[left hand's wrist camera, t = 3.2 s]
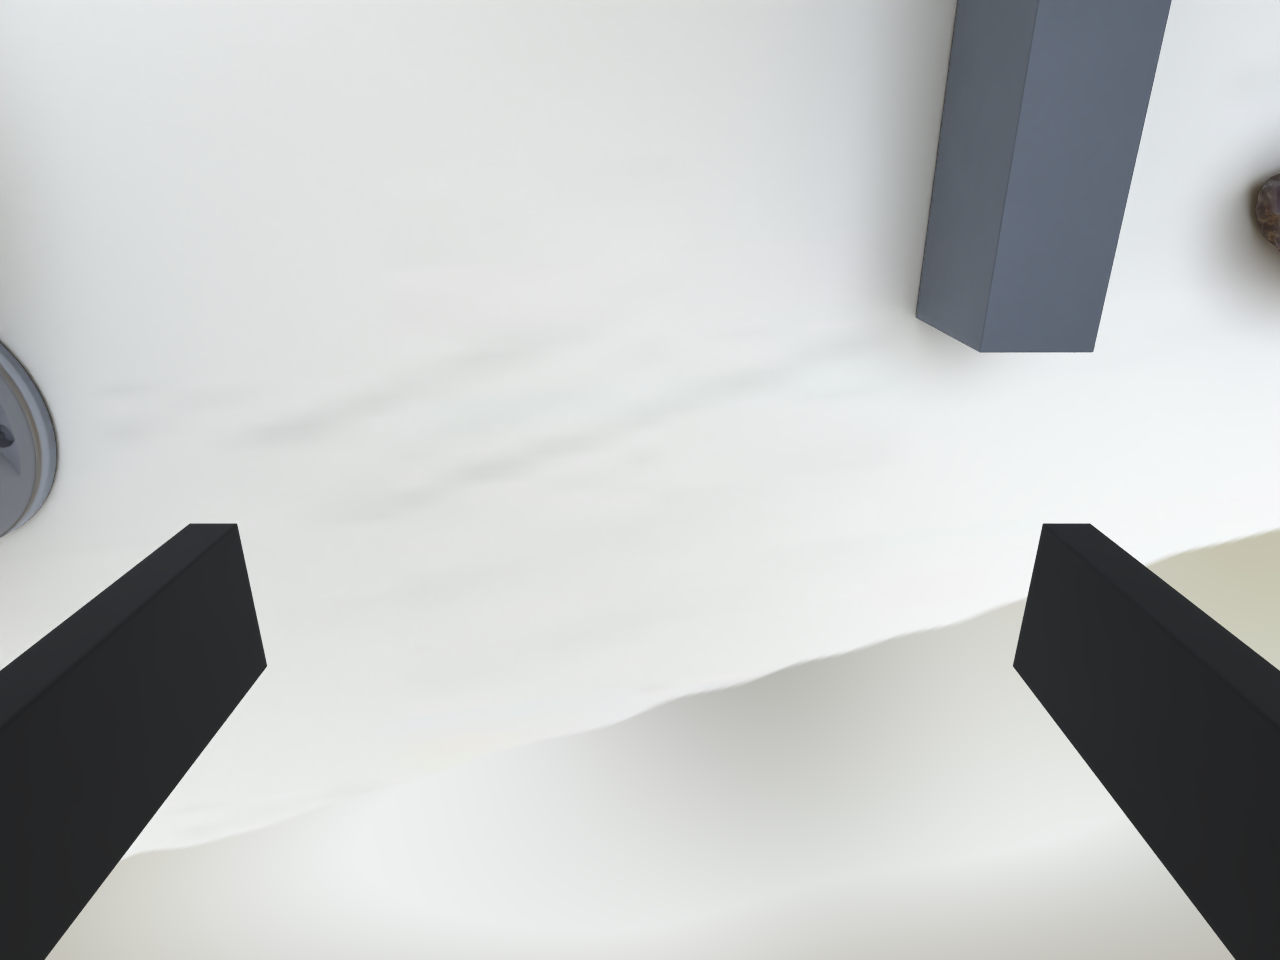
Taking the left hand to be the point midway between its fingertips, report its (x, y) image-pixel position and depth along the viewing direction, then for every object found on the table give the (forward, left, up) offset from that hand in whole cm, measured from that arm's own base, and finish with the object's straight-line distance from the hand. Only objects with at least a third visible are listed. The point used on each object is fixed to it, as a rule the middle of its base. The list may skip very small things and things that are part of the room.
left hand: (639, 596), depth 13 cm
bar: (+22, -3, -31) cm, 38 cm away
